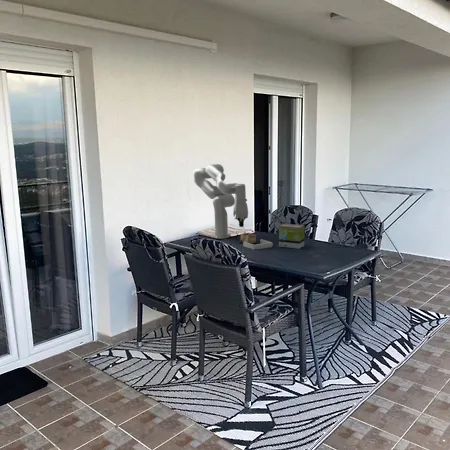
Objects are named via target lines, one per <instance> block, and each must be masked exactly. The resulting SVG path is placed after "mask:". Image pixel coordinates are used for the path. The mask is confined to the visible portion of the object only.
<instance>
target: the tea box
mask: <svg viewBox="0 0 450 450" xmlns="http://www.w3.org/2000/svg"><path fill="white" fill-rule="evenodd" d="M304 246H305V224H293V223H282V224H281V225H278V247H279V248H281V247H282V248H289V249H290V248H291V249H297V250H299V249H300V250H301V247H302V248H303V247H304Z"/></svg>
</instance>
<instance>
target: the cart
mask: <svg viewBox="0 0 450 450" xmlns="http://www.w3.org/2000/svg"><path fill="white" fill-rule="evenodd" d="M243 242H247V243H250V244H254V245H257V244H258V241H257V235H256V234H253V233H251V232H244V233H240V240H239V244H243Z"/></svg>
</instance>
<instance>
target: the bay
mask: <svg viewBox="0 0 450 450" xmlns="http://www.w3.org/2000/svg"><path fill="white" fill-rule="evenodd" d="M259 241H260V243H257V244H254V243H247V242H242V246H243V247H244V248H248V249H250V248H251V249H250V250H254V251H255V249H256V250H262V249H269V248H273V243H274V242H272V241H269V240H265V239H260V240H259Z"/></svg>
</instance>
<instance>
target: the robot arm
mask: <svg viewBox="0 0 450 450" xmlns="http://www.w3.org/2000/svg"><path fill="white" fill-rule="evenodd" d="M224 172H225V169H224V167H223V166H222V164H218V163H216V164H215V163H214V164H209V165H206V167H199V168H196V169H194V170H193V172H192V179H193V182H194V184H195V185H196V186H197V187H198V188H200V189H201V190H202V192H203V193H204V194H205V195H206V196H207V197H208V198H209V199H211V200H212V205H213V209H214V210H213V211H214V231H213V232H214V235H215V236H213V235H212V238H214V239H220V240H221V239H229V238H231V235H230V234H229V233H228V231H229V230H228V228H229V226H228V220H229V219H228V212H227V209H226V208H231V207H233V211H232V212H233V213H232V214H233V217H234V220H236V221H238V226H239V228H244V226H245V220H246V219H248V217H249V209H248V204H247V201H248V199H247V197H246V196H247V195H246V194H247V193H246V184H244V183H236V182H235V183H226V182H224V181H225V179H226V174H225V173H224ZM208 179H212V180H213V181H215V184H216V185H213V184H212V183H211V181H209V180H208Z"/></svg>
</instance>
